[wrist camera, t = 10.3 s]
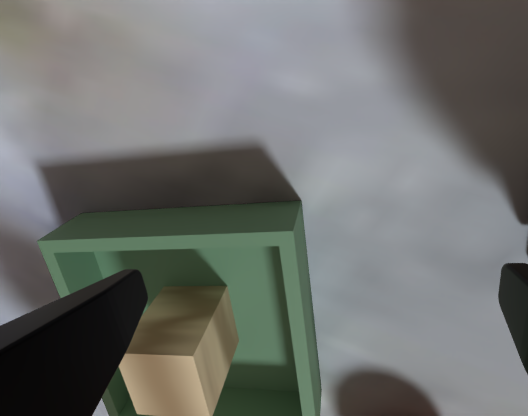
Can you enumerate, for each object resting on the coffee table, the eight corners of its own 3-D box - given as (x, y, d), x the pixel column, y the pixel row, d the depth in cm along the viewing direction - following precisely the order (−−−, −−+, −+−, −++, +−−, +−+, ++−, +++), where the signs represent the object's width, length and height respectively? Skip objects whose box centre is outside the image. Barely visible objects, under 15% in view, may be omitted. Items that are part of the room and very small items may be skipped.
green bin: (301, 200, 21) (293, 231, 18) (321, 389, 27) (318, 442, 23) (81, 213, 25) (36, 241, 21) (139, 378, 30) (112, 422, 27)
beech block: (227, 285, 23) (193, 356, 18) (239, 340, 25) (211, 420, 20) (163, 286, 24) (113, 353, 19) (179, 339, 26) (137, 414, 21)
